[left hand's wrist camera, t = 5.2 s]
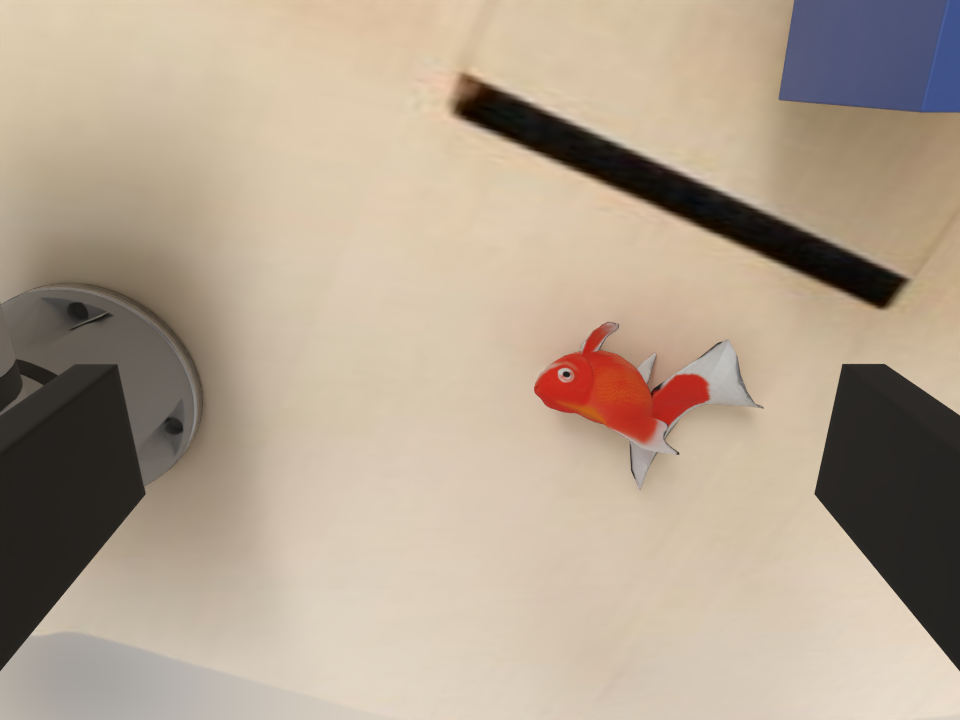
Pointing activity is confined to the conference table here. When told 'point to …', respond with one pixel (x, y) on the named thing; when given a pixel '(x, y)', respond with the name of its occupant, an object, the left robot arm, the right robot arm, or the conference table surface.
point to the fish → (639, 393)
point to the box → (874, 54)
